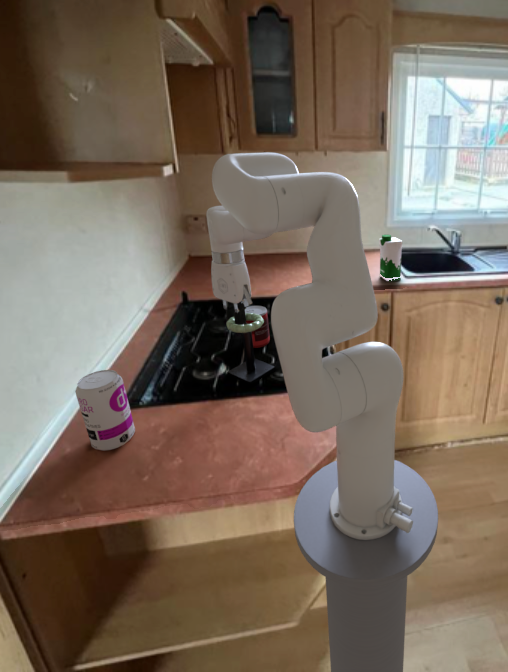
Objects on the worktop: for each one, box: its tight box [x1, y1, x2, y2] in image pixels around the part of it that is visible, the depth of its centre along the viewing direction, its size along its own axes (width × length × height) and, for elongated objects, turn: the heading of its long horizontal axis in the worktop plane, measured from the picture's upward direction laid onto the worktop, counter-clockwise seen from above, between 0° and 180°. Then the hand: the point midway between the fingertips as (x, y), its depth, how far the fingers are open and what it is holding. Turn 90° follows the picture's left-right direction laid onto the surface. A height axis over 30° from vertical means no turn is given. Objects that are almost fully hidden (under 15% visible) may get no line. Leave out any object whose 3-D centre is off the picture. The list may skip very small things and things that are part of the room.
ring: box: [226, 313, 264, 334], centre depth 107 cm, size 9×9×2 cm
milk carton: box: [378, 234, 403, 282], centre depth 181 cm, size 9×9×20 cm
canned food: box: [242, 305, 271, 349], centre depth 127 cm, size 8×8×11 cm
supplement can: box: [75, 369, 136, 451], centre depth 85 cm, size 8×8×15 cm
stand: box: [226, 331, 276, 387], centre depth 110 cm, size 9×9×13 cm
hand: (236, 322), depth 109 cm, fingers closed on ring, 2 cm apart
